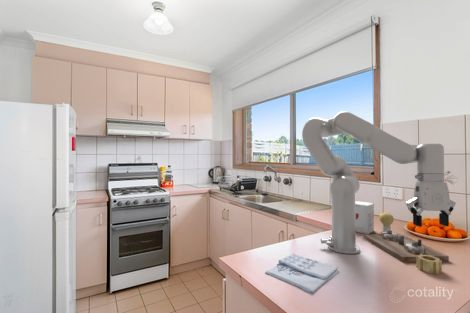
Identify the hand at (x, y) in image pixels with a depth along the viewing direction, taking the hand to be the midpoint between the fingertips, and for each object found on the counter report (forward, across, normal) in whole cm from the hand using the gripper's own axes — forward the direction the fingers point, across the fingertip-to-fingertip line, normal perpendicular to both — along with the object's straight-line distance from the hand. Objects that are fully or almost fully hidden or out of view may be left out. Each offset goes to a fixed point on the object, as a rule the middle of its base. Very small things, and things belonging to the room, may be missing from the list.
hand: (430, 225), depth 87 cm
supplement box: (+15, -1, +43) cm, 46 cm away
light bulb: (+15, +11, +41) cm, 45 cm away
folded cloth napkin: (+16, -48, -2) cm, 50 cm away
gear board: (+15, +2, +18) cm, 24 cm away
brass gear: (+15, -2, -1) cm, 15 cm away
